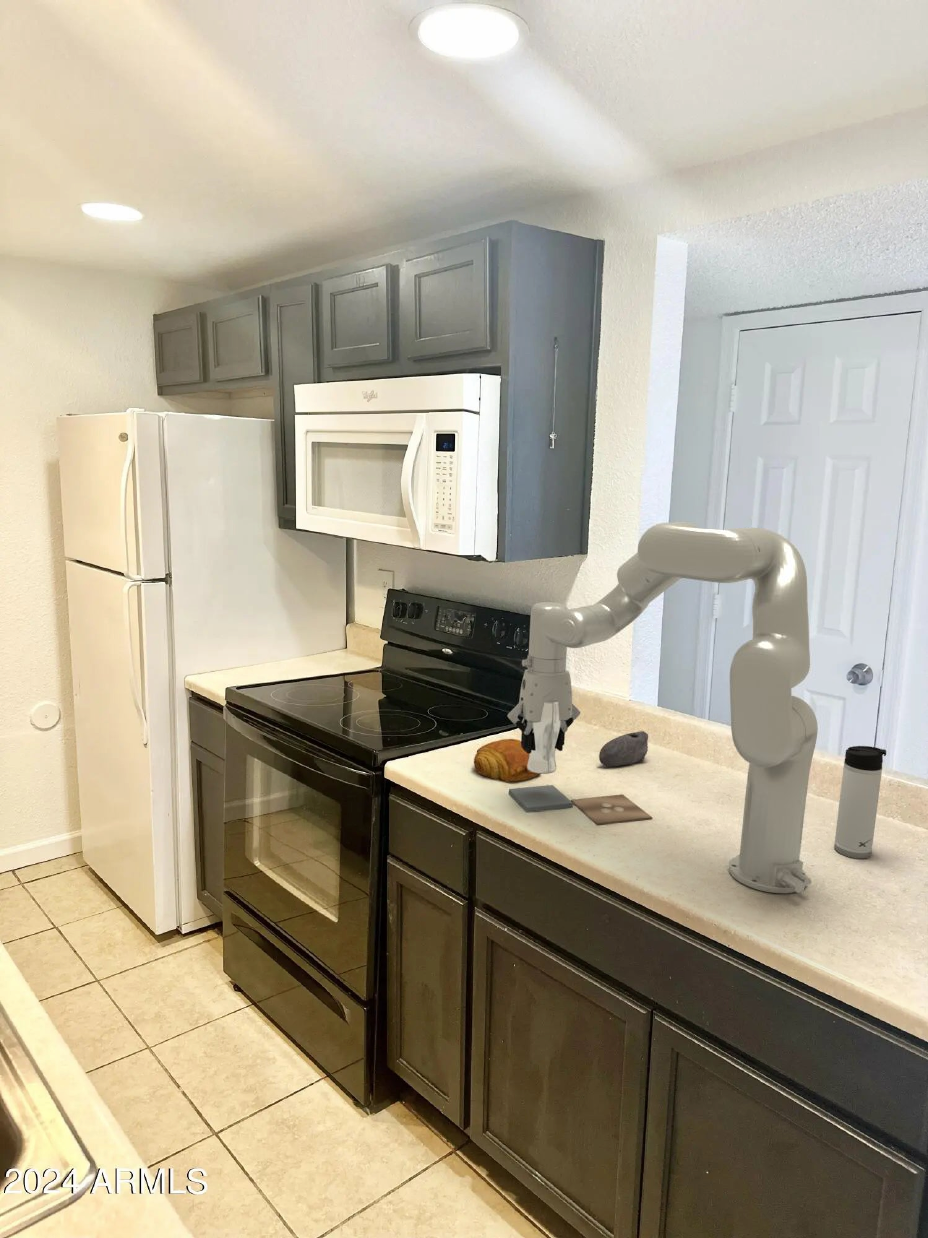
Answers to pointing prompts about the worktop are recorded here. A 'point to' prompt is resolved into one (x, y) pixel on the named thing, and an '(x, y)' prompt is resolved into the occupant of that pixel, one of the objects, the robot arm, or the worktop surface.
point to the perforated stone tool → (624, 749)
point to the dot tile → (610, 809)
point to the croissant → (503, 761)
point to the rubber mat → (540, 798)
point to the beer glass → (545, 740)
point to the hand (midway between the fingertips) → (542, 749)
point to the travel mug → (858, 801)
